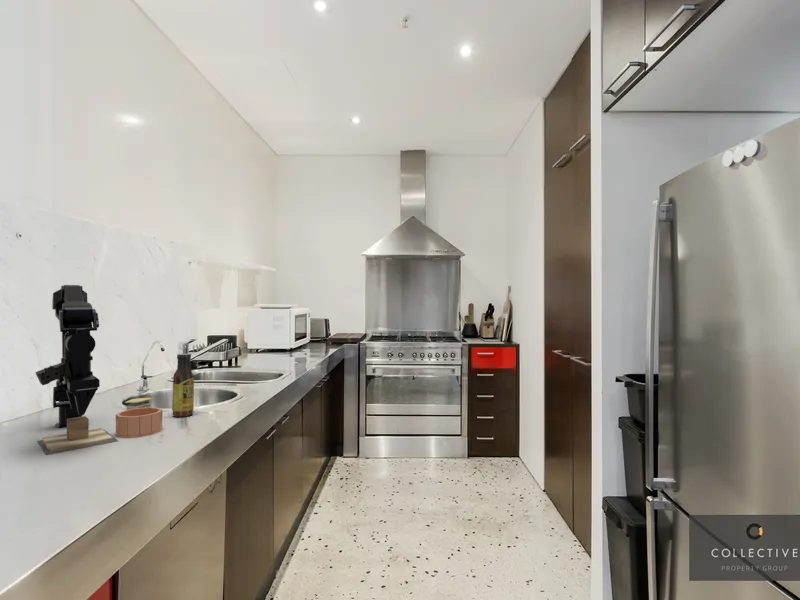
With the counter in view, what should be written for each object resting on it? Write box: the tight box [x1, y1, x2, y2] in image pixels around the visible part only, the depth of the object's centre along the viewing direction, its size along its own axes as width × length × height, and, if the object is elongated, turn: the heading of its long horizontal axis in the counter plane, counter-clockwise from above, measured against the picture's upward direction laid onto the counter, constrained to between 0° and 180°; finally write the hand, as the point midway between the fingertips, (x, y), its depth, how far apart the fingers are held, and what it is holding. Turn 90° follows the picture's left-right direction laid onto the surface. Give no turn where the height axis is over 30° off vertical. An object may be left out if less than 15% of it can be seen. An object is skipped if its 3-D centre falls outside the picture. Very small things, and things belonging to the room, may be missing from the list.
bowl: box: [115, 406, 163, 438], centre depth 126 cm, size 11×11×6 cm
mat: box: [36, 428, 119, 456], centre depth 117 cm, size 16×15×1 cm
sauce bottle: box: [171, 353, 195, 418], centre depth 146 cm, size 6×6×20 cm
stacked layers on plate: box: [124, 397, 152, 410], centre depth 145 cm, size 10×9×6 cm
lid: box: [41, 415, 114, 453], centre depth 117 cm, size 13×13×6 cm
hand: (77, 412), depth 118 cm, fingers open, 9 cm apart
